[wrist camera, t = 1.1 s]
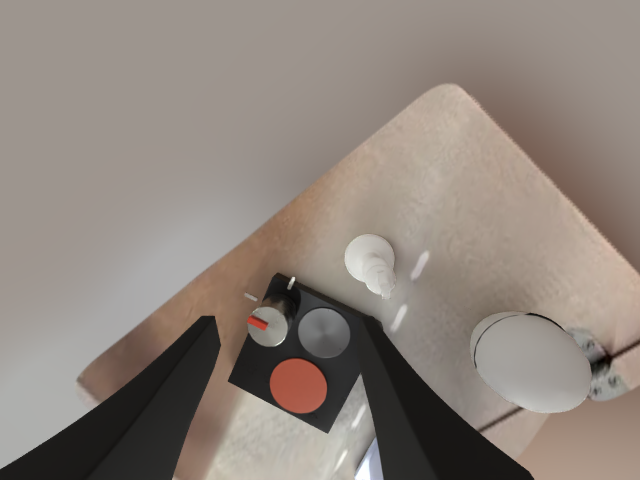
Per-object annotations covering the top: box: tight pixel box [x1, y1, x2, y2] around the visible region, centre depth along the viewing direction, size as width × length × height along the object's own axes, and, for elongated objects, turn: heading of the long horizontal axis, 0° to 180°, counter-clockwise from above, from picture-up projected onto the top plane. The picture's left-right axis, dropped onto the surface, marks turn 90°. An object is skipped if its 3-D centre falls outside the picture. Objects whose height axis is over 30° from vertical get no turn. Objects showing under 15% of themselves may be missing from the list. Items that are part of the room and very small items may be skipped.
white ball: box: [466, 307, 592, 413], centre depth 19 cm, size 10×7×7 cm
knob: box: [247, 293, 297, 346], centre depth 21 cm, size 4×4×4 cm
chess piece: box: [345, 234, 396, 300], centre depth 18 cm, size 5×5×10 cm
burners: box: [270, 307, 350, 413], centre depth 23 cm, size 6×12×1 cm, turn 155°
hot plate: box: [228, 273, 383, 434], centre depth 24 cm, size 14×14×2 cm
